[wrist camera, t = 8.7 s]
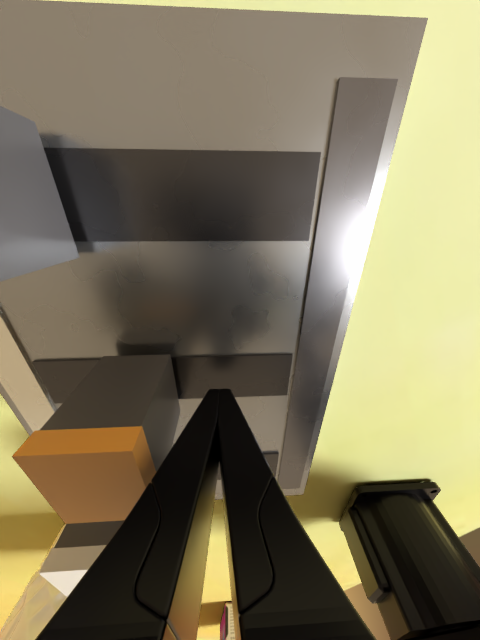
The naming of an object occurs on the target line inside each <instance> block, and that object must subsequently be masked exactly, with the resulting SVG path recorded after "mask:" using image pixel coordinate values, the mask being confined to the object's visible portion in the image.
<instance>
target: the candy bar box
mask: <svg viewBox="0 0 480 640" xmlns="http://www.w3.org/2000/svg"><path fill="white" fill-rule="evenodd" d="M220 640H235V631H234V620H233V609H232V602H226V603H225V607H224V612H223V616H222V620H221V623H220Z"/></svg>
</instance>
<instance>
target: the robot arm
mask: <svg viewBox="0 0 480 640" xmlns="http://www.w3.org/2000/svg"><path fill="white" fill-rule="evenodd" d="M219 462H220V473H221V484H222V496H223V507H224V518H225V530H226V541H227V552H228V563H229V575H230V586H231V597H232V609H233V620H234V631H235V640H376V639H375V637H374V636H373V634H372V633H371V632H370V630H369V628H368V627H367V626H366V624H365V623H364V621H363V620H362V618H361V617H360V615H359V614H358V612H357V611H356V609H355V608H354V606H353V605H352V603H351V602H350V600H349V599H348V597H347V596H346V594H345V593H344V591H343V589H342V588H341V586H340V585H339V583H338V582H337V580H336V578H335V577H334V575H333V574H332V572H331V571H330V569H329V567H328V566H327V564H326V563H325V561H324V560H323V558H322V557H321V555H320V553H319V552H318V550H317V549H316V547H315V546H314V544H313V542H312V541H311V539H310V538H309V536H308V535H307V533H306V531H305V530H304V528H303V526H302V525H301V523H300V521H299V520H298V518H297V516H296V515H295V513H294V511H293V510H292V508H291V506H290V504H289V502H288V500H287V499H286V497H285V495H284V493H283V491H282V489H281V487H280V485H279V483H278V481H277V479H276V478H275V477H274V474H273V472H272V470H271V468H270V466H269V464H268V462H267V460H266V458H265V456H264V454H263V452H262V450H261V448H260V446H259V444H258V442H257V440H256V438H255V436H254V434H253V432H252V430H251V428H250V426H249V425H248V423H247V421H246V419H245V417H244V415H243V413H242V411H241V409H240V407H239V405H238V403H237V401H236V399H235V397H234V395H233V393H232V391H231V390H230V389H209V390H208V392H207V393H206V395H205V396H204V398H203V400H202V401H201V403H200V404H199V406H198V407H197V409H196V411H195V412H194V414H193V415H192V417H191V418H190V420H189V421H188V423H187V425H186V426H185V428H184V429H183V431H182V432H181V434H180V436H179V437H178V439H177V440H176V442H175V443H174V445H173V447H172V448H171V450H170V451H169V453H168V454H167V456H166V458H165V459H164V461H163V462H162V464H161V465H160V467H159V469H158V470H157V472H156V473H155V475H154V476H153V478H152V480H151V482H152V483H149V484H148V486H147V487H146V489H145V490H144V492H143V493H142V495H141V497H140V498H139V500H138V501H137V503H136V504H135V506H134V507H133V509H132V510H131V512H130V513H129V514H128V516H127V517H126V519H125V520H124V522H123V523H122V525H121V526H120V527H119V529H118V530H117V531H116V533H115V534H114V536H113V537H112V538H111V540H110V541H109V542H108V544H107V545H106V547H105V548H104V549H103V551H102V552H101V553H100V555H99V556H98V557H97V559H96V560H95V561H94V562H93V564H92V565H91V566H90V568H89V569H88V570H87V572H86V573H85V574H84V576H83V577H82V578H81V580H80V581H79V582H78V584H77V585H76V586H75V588H74V589H73V590H72V592H71V593H70V594H69V595H68V597H67V598H66V599H65V601H64V602H63V603H62V605H61V606H60V607H59V609H58V610H57V611H56V613H55V614H54V615H53V617H52V618H51V619H50V621H49V622H48V623H47V625H46V626H45V627H44V628H43V630H42V631H41V632H40V634H39V635H38V636H37V637H36V639H35V640H196V638H197V631H198V623H199V615H200V608H201V600H202V592H203V584H204V577H205V569H206V561H207V554H208V546H209V538H210V530H211V523H212V515H213V507H214V500H215V492H216V484H217V476H218V469H219ZM440 491H441V489H440V488H439V486H438V485H437V484H436V483H435V482H424V483H406V484H388V485H370V486H359V487H357V488H355V490H354V491H353V494H352V496H351V498H350V500H349V502H348V505H347V507H346V509H345V511H344V513H343V515H342V518H341V520H340V522H339V526H340V528H341V530H342V531H343V532H344V535H345V537H346V540H347V543H348V546H349V548H350V551H351V554H352V557H353V560H354V562H355V565H356V568H357V571H358V573H359V576H360V579H361V582H362V585H363V587H364V590H365V593H366V596H367V598H368V599H369V600H370V601H371V602H372V603H377V605H378V608H379V610H380V613H381V616H382V618H383V621H384V623H385V626H386V629H387V631H388V634H389V637H390V639H391V640H480V567H479V566H478V564H477V563H476V562H475V560H474V559H473V557H472V556H471V554H470V553H469V552H468V550H467V549H466V548H465V546H464V544H463V543H462V542H461V540H460V539H459V537H458V536H457V535H456V533H455V532H454V530H453V529H452V528H451V526H450V525H449V523H448V522H447V520H446V519H445V518H444V516H443V515H442V513H441V512H440V511H439V509H438V508H437V506H436V505H435V504H434V502H433V500H434V498H435V497H436V496H437V495H438V493H439V492H440Z"/></svg>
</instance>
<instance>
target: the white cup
mask: <svg viewBox="0 0 480 640" xmlns="http://www.w3.org/2000/svg"><path fill="white" fill-rule="evenodd" d="M65 525H66V524H64V526H63V527H62V528H61V530H60V532H59V533H58V535H57V537H56V539H55V541H54V542H53V544H52V546H51V548H50V550H51V549H52V548H54V547H55V545H56V543H57V541H58V539H59V537H60V535H61V533H62V531H63V529H64V527H65ZM50 550H49V551H48V553H47V555H46V557H45V558H44V560H43V562H42V564H41V566H40V569H41V567H42V565H43V563H44V562H45V560H46V558H47V556H48V554H49V552H50ZM40 569H39V570H37V571H36V572H35V574H34V575H33V576H32V578H31V579H30V581H29V583H28V585H27V586H26V588H25V590H24V592H23V594H22V595H21V597H20V599H19V600H18V602H17V603H16V605H15V607H14V608H13V610H12V612H11V613H10V615H9V617H8V619H7V620H6V622H5V624H4V626H3V628H2V629H1V631H0V640H35V639H36V637H37V636H38V635H39V634H40V632H41V631H42V630H43V628H44V627H45V626H46V625H47V623H48V622H49V621H50V619H51V618H52V617H53V615H54V614H55V613H56V611H57V610H58V609H59V607H60V606H61V605H62V603H63V602H64V601H65V599H66V598H67V597H66V596H65V595H64V594H63V593H62V592H60V591H59V590H58V589H57V588H56V587H55V586H53V585H52V584H51V583H50V582H49V581H47V580H46V579H45V578H44V577H43V576H41V575H40V574H39V571H40Z"/></svg>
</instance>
